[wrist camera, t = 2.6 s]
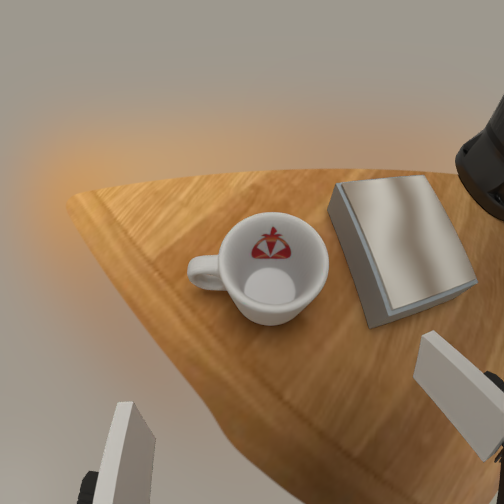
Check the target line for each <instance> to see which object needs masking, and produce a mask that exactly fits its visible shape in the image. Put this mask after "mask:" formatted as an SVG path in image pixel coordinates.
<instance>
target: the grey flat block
mask: <svg viewBox="0 0 504 504" xmlns="http://www.w3.org/2000/svg"><path fill="white" fill-rule="evenodd" d="M327 211H328V213H329V216H330V218H331V221H332V223H333V226H334V228H335V231H336V233H337V236H338V239H339V241H340V244H341V247H342V249H343V252H344V255H345V257H346V260H347V263H348V266H349V269H350V271H351V274H352V277H353V280H354V283H355V286H356V289H357V292H358V295H359V298H360V301H361V304H362V307H363V310H364V313H365V317H366V320H367V323H368V327H369V329H371V328H374V327H377V326H381V325H384V324H387V323H390V322H393V321H395V320H398V319H401V318H404V317H407V316H410V315H412V314H415V313H418V312H421V311H423V310H426V309H429V308H431V307H434V306H436V305H439V304H441V303H444V302H446V301H449V300H451V299H454V298H456V297H457V296H459V295H460V294H462V293H463V292H465V291H466V290H468V289H469V288H471V287H472V286H474V285H475V284H477V283H478V281H477V278H476V275H475V273H474V270H473V268H472V266H471V263H470V261H469V259H468V256H467V254H466V252H465V250H464V248H463V245H462V243H461V241H460V239H459V237H458V235H457V233H456V231H455V229H454V227H453V225H452V223H451V221H450V219H449V217H448V215H447V214H446V212H445V210H444V208H443V206H442V204H441V203H440V201H439V199H438V197H437V196H436V194H435V192H434V190H433V189H432V187H431V185H430V184H429V182H428V181H427V179H426V177H425V176H424V175H414V176H402V177H390V178H380V179H370V180H360V181H351V182H342V183H336V184H335V187H334V190H333V194H332V197H331V200H330V203H329V206H328V208H327Z"/></svg>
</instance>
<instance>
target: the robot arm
mask: <svg viewBox="0 0 504 504" xmlns="http://www.w3.org/2000/svg"><path fill="white" fill-rule="evenodd" d="M455 163H456V168H457V172H458V174H459V176H460V178H461V180H462V182H463V184H464V185H465V187H466V189H467V190H468V191H469V193H470V194H471V195H472V197H473V198H474V199H475V200H476V201H477V202H478V203H479V204H480V205H481V206H482V207H483V208H484V209H485V210H486V211H487V212H489V213H490V214H492V215H493V216H495V217H496V218H498V219H501V220H504V95H503V97H502V99H501V100H500V102H499V104H498V106H497V108H496V110H495V111H494V113H493V115H492V117H491V118H490V120H489V122H488V124H487V125H486V127H485V129H484V130H482V131H481V132H480V133H478V134H477V135H476V136H475V137H473V138H472V139H470V140H469V141H468V142H466V143H465V144H464V145H463V146H462V147H461V149H460V151H459V152H458V154H457V155H456V159H455ZM413 378H414V379H415V380H416V381H417V382H418V384H419V385H420V386H421V387H422V388H423V389H424V391H425V392H426V393H427V394H428V395H429V396H430V398H431V399H432V400H433V401H434V402H435V403H436V405H437V406H438V407H439V408H440V409H441V411H442V412H443V413H444V414H445V415H446V417H447V418H448V419H449V420H450V421H451V423H452V424H453V425H454V426H455V427H456V429H457V430H458V431H459V432H460V434H461V435H462V436H463V437H464V438H465V440H466V441H467V442H468V443H469V445H470V446H471V447H472V448H473V450H474V451H475V452H476V453H477V455H478V456H479V457H480V459H481V460H482V461H483V462H485V461H486V460H487V459H489V458H490V457H491V456H492V455H493V454H495V453H496V451H497V450H498V449H499V447H500V446H501V445H502V446H503V449H502V450H501V451H500V453H499V454H498V455H497V457H496V458H495V461H494V463H496V462H497V461H498V460H499V458H500V457H501V459H500V461H499V462H501V470H500V481H499V490H498V497H497V504H504V382H503V380H502V379H500V378H499V377H498V376H497V375H496V374H493V373H491V372H489V371H486V372H485V373H482V372H481V371H480V370H479V369H478V368H476V367H475V366H474V365H473V364H472V363H471V362H470V361H469V360H468V359H466V358H465V357H464V356H463V355H462V354H461V353H460V352H458V351H457V350H456V349H455V348H454V347H453V346H451V345H450V344H449V343H448V342H447V341H446V340H444V339H443V338H442V337H441V336H440V335H439V334H437V333H436V332H435V331H434V330H433V331H431V332H428V333H426V334H424V335H422V337H421V343H420V348H419V353H418V357H417V362H416V366H415V371H414V375H413ZM155 442H156V438H155V436H154V435H153V433H152V432H151V430H150V429H149V427H148V425H147V424H146V422H145V420H144V419H143V417H142V416H141V414H140V412H139V410H138V409H137V407H136V405H135V404H134V402H118V403H117V407H116V410H115V413H114V417H113V420H112V424H111V428H110V431H109V435H108V439H107V443H106V447H105V450H104V454H103V459H102V462H101V467H100V471H99V472H94V471H89V472H88V473H87V474H86V476H85V477H84V479H83V480H82V484H81V488H80V493H79V496H78V501H77V504H150V492H151V480H152V470H153V460H154V451H155Z"/></svg>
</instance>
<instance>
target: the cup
mask: <svg viewBox="0 0 504 504" xmlns="http://www.w3.org/2000/svg"><path fill="white" fill-rule="evenodd" d="M328 270H329V258H328V253H327V249H326V246H325V244H324V242H323V240H322V239H321V237H320V236H319V234H318V233H317V232H316V231H315V230H314V229H313V228H312V227H311V226H310V225H309V224H307V223H306V222H305V221H303V220H301V219H299V218H297V217H295V216H292V215H289V214H285V213H278V212H267V213H260V214H256V215H253V216H250V217H248V218H246V219H244V220H242V221H241V222H239V223H238V224H236V225H235V226H234V227H233V228H232V229H231V230H230V231H229V233H228V234H227V235H226V237H225V238H224V240H223V242H222V244H221V247H220V251H219V254H218V255H207V256H199V257H195V258H193V259H192V260H191V261H190V263H189V265H188V271H187V275H188V278H189V280H190V281H191V282H192V283H193V284H194V285H196V286H197V287H199V288H202V289H206V290H221V291H228V293H229V295H230V296H231V298H232V299H233V301H234V303H235V304H236V306H237V307H238V309H239V310H240V311H241V313H242V314H243V315H244V316H245V317H247V318H248V319H250V320H251V321H253V322H255V323H258V324H261V325H268V326H273V325H279V324H283V323H285V322H288V321H289V320H291V319H293V318H294V317H295V316H297V315H298V314H299V313H300V312H301V311H302V310H303V309H304V308H305V307H306V306H307V305H308V304H309V303H310V302H311V301H312V300H313V299H314V298H315V297H316V296H317V295H318V294H319V293H320V291H321V289H322V288H323V286H324V284H325V282H326V279H327V276H328ZM207 274H208V275H207ZM212 275H213V276H212Z"/></svg>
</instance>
